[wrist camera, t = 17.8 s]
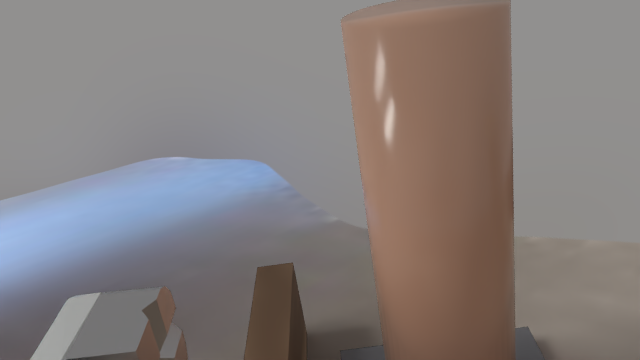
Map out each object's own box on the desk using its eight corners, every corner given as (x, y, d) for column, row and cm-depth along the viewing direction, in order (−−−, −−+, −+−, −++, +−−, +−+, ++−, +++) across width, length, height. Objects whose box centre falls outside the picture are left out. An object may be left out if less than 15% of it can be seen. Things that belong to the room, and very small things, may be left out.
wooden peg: (401, 470, 25) (345, 38, 17) (386, 376, 30) (337, 9, 22) (534, 455, 24) (535, 8, 17) (496, 362, 29) (484, -14, 22)
